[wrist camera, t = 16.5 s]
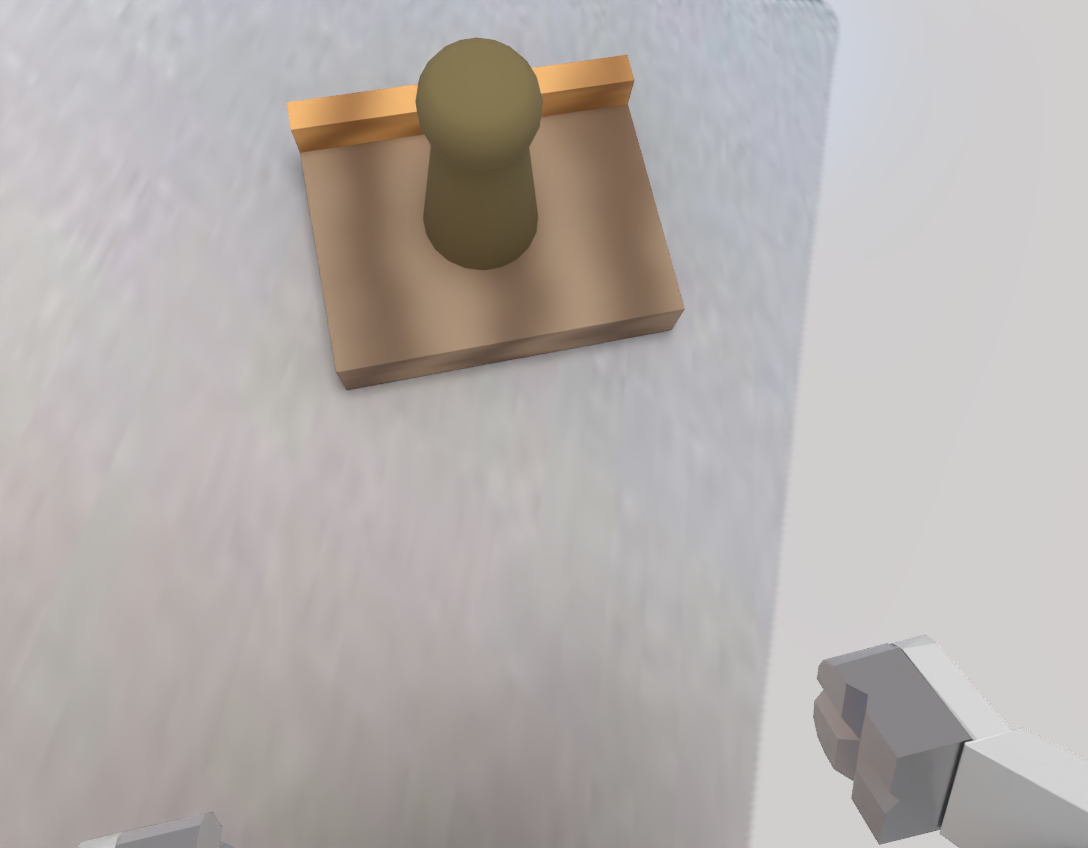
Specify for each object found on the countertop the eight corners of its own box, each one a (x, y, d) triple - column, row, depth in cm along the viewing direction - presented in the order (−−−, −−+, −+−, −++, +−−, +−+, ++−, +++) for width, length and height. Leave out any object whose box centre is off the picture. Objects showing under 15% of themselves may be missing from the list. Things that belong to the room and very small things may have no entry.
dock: (346, 389, 42) (328, 359, 37) (307, 158, 45) (286, 102, 40) (671, 329, 44) (694, 293, 39) (612, 113, 47) (627, 54, 42)
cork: (490, 146, 42) (491, -14, 32) (561, 227, 42) (587, 91, 31) (399, 207, 41) (369, 62, 31) (471, 292, 40) (465, 173, 30)
